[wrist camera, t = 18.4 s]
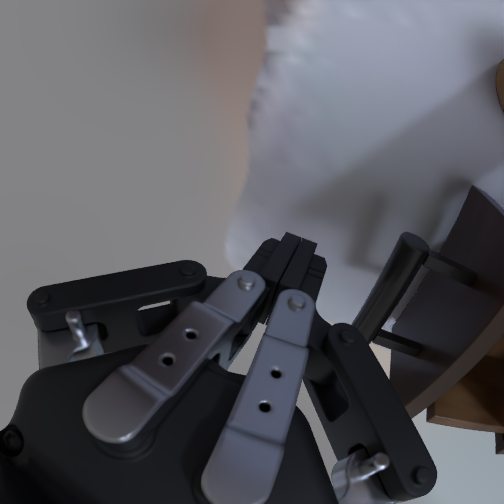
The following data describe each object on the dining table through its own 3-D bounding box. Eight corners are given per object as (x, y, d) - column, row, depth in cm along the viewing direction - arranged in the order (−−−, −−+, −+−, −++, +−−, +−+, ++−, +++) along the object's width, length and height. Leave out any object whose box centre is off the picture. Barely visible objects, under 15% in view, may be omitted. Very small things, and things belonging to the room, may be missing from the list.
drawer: (340, 308, 19) (316, 402, 13) (409, 152, 12) (447, 198, 6) (504, 367, 15) (515, 441, 9) (580, 265, 9) (622, 335, 2)
